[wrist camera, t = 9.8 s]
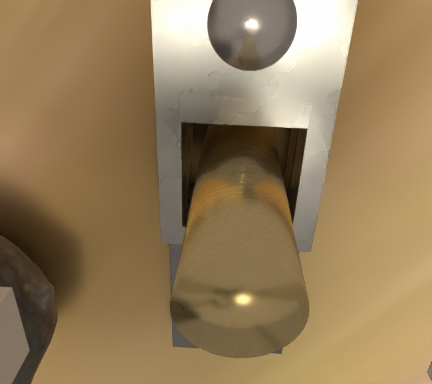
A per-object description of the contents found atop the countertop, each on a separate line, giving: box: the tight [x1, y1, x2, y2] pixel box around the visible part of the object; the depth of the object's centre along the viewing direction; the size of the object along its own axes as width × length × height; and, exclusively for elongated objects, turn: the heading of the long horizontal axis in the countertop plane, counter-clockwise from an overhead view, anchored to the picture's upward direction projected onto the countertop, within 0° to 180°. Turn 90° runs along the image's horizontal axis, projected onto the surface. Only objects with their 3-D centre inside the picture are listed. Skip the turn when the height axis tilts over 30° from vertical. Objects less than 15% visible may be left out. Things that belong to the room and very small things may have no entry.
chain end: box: [151, 0, 358, 252], centre depth 20 cm, size 8×18×6 cm, turn 178°
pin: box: [170, 124, 309, 358], centre depth 19 cm, size 4×4×14 cm
